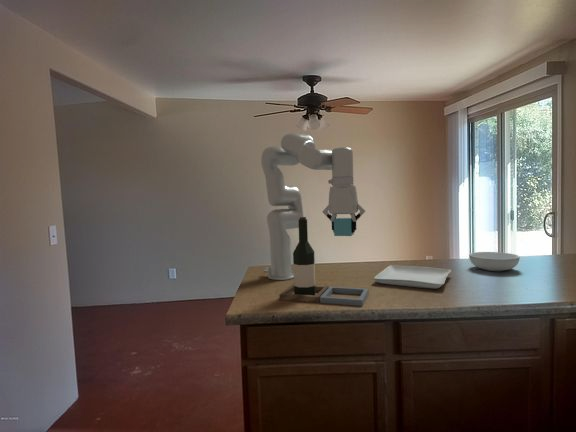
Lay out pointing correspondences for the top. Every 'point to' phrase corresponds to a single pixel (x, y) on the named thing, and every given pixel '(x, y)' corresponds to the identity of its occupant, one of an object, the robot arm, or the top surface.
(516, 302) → the top surface
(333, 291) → the slate frame
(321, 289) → the walnut frame
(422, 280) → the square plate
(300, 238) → the wine bottle
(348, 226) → the teal block
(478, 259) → the serving bowl
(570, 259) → the top surface
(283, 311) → the top surface
